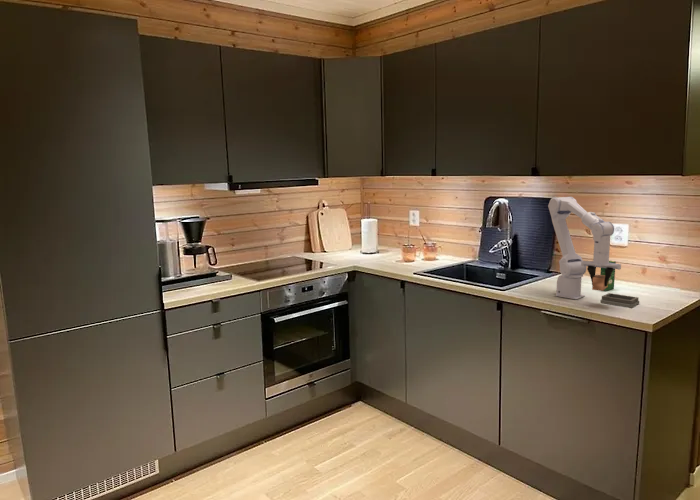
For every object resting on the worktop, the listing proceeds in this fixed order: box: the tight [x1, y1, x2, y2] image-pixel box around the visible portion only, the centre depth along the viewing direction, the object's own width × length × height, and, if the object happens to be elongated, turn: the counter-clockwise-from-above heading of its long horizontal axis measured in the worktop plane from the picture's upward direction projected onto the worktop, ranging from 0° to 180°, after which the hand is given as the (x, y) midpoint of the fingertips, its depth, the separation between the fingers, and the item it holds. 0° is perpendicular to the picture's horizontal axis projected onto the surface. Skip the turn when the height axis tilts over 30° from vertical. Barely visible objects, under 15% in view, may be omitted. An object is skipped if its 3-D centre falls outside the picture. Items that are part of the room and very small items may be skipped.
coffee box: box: [599, 260, 617, 292], centre depth 240 cm, size 8×3×13 cm, turn 124°
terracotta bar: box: [591, 274, 606, 292], centre depth 214 cm, size 4×7×5 cm, turn 144°
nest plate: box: [599, 292, 640, 309], centre depth 218 cm, size 12×9×3 cm
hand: (599, 285), depth 214 cm, fingers closed on terracotta bar, 4 cm apart
